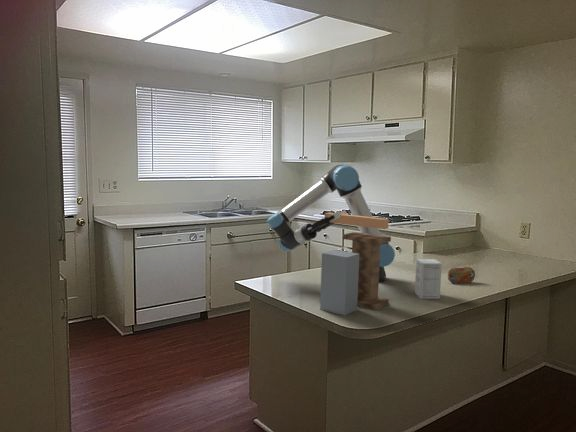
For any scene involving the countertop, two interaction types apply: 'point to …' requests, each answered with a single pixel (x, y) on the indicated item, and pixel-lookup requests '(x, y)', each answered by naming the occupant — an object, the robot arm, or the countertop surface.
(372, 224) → the rod
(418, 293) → the supplement box
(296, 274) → the countertop surface
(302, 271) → the countertop surface
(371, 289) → the stand
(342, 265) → the slate block
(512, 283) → the countertop surface
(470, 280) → the tin
